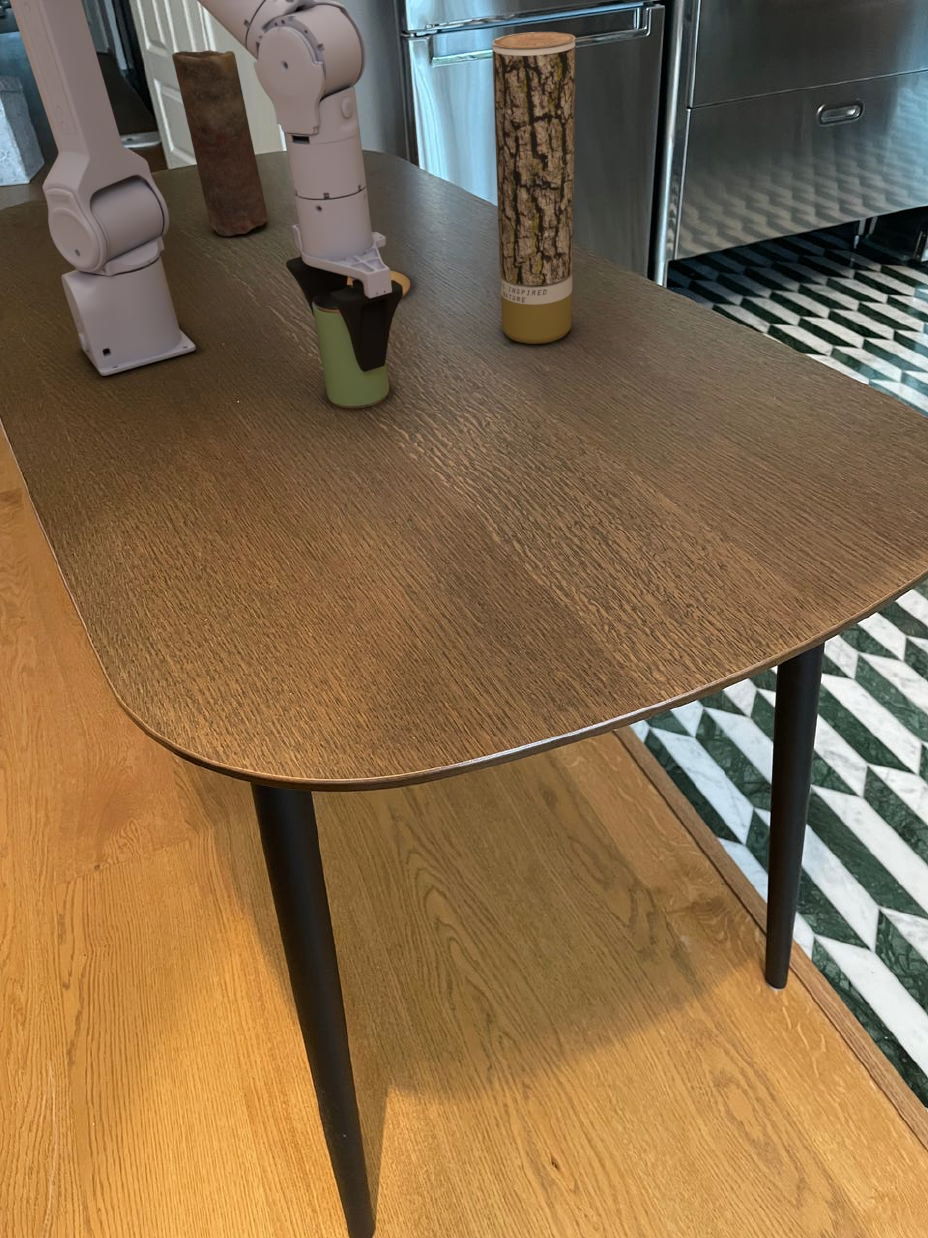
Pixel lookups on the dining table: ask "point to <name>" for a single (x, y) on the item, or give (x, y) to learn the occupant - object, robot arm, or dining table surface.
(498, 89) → the paper tube
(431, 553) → the dining table surface
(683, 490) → the dining table surface
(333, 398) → the can
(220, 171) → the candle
